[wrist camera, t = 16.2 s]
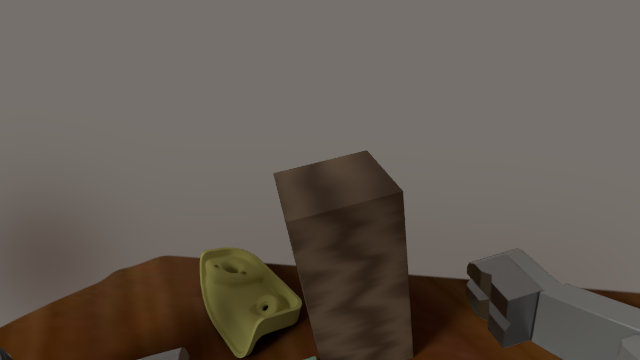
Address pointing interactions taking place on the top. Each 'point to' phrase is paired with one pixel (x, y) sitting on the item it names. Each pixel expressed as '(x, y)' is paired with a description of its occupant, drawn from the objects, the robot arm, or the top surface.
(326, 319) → the block
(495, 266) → the robot arm
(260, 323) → the plastic component
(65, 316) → the top surface
